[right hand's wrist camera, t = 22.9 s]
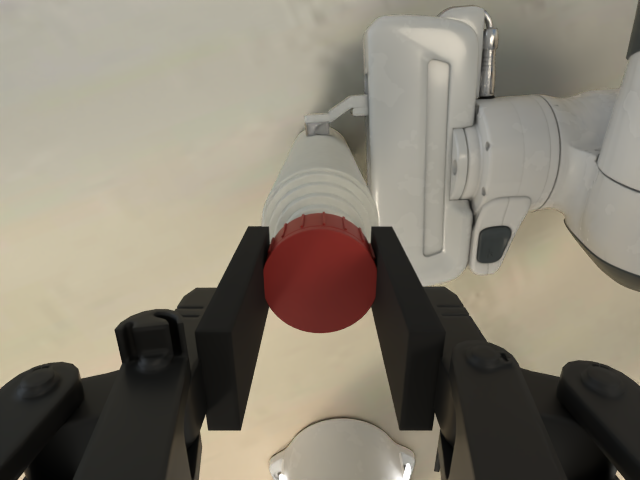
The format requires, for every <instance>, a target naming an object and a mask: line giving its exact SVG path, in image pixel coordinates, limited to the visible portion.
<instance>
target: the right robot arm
mask: <svg viewBox="0 0 640 480" xmlns="http://www.w3.org/2000/svg"><path fill="white" fill-rule="evenodd" d="M371 245H372V249H373V252H374V255H375V258H376V259H374V260H375V264H376V267H377V280H376V296H375V300H374V302H373V304H372V306H371V308H372V312H373V316H374V321H375V325H376V329H377V334H378V338H379V342H380V347H381V351H382V355H383V360H384V364H385V369H386V373H387V377H388V382H389V386H390V390H391V395H392V399H393V403H394V408H395V412H396V416H397V421H398V425H399V429H400V430H432V428H433V421H434V414H436V417H437V420H438V423H439V426H440V428H441V429H440V435H439V442H438V449H437V455H436V462H435V469H434V471H436V472H439V471H441V480H620V479H619V478H618V477H617V476H616V475H615V474H616V472H617V470H618V471H619V472H620V474H621V475H622V476H623V477H624V479H625V480H640V386H639V385H638V384H637V383H636V382H634V381H633V380H632V379H630V378H629V377H627V376H626V375H625V374H623V373H622V372H619V371H617V370H615V369H613V368H611V367H609V366H607V365H604V364H599V363H596V362H592V361H581V360H578V361H572V362H568V363H567V364H566V365H565V366H564V367H563V368H562V372H561V375H560V377H557V376H552V375H547V374H542V373H538V372H533V371H529V370H526V369H522V368H520V367H519V364H518V362H517V361H516V360H515V358H514V357H513V356H512V355H511V354H510V353H509V352H507V351H506V350H505V349H503V348H501V347H499V346H497V345H494V344H492V343H488V342H487V341H486V339H485V338H484V336H483V335H482V333H481V332H480V330H479V329H478V327H477V326H476V324H475V322H474V321H473V319H472V318H471V316H469V313H468V312H467V310H466V309H465V307H463V304H462V302H461V301H460V299H459V298H458V296H457V295H456V294H454V293H453V292H451V291H450V290H448V289H447V288H445V287H423V286H422V284H421V282H420V280H419V278H418V276H417V274H416V272H415V270H414V268H413V266H412V264H411V262H410V260H409V259H408V257H407V255H406V253H405V251H404V249H403V247H402V245H401V243H400V241H399V239H398V237H397V235H396V233H395V231H394V229H393V227H392V226H371ZM269 246H270V235H269V226H248V228H247V230H246V232H245V234H244V236H243V238H242V240H241V242H240V244H239V246H238V248H237V250H236V252H235V253H234V255H233V257H232V259H231V261H230V263H229V265H228V267H227V269H226V271H225V273H224V275H223V277H222V279H221V281H220V283H219V285H218V287H217V288H195V289H194V290H193V291H191V292H190V293H188V294H187V295H185V296H184V297H183V299H182V300H181V302H180V303H179V305H178V306H177V309H175V311H172V310H169V309H154V310H149V311H144V312H141V313H138V314H135V315H133V316H130V317H129V318H127V319H126V320H124V321H122V322H121V323H120V324H119V325H118V326H117V327H116V329H115V334H116V338H117V343H118V347H119V351H120V356H121V360H122V365H121V367H120V370H117V371H114V372H110V373H106V374H101V375H96V376H92V377H87V378H82V379H81V377H80V374H79V370H78V368H77V367H75V366H74V365H73V364H70V363H65V362H56V363H48V364H43V365H39V366H36V367H33V368H32V369H30V370H27V371H25V372H23V373H21V374H19V375H18V376H16V377H15V378H13V379H12V380H11V381H9V382H8V383H6V384H5V385H4V386H3V387H2V388H1V389H0V480H18V478H19V477H20V476H21V475H22V474H23V472H24V473H25V475H26V476H25V477H24V479H23V480H199V472H200V463H201V453H202V442H201V435H200V429H201V426H202V423H203V420H204V417H205V414H206V418H207V425H208V430H241V427H242V423H243V418H244V414H245V409H246V405H247V401H248V396H249V392H250V388H251V383H252V379H253V375H254V370H255V366H256V362H257V357H258V353H259V349H260V344H261V340H262V335H263V331H264V327H265V322H266V318H267V314H268V309H269V305H268V303H267V301H266V299H265V290H264V273H263V269H264V265H265V262H266V259H267V255H268V249H269Z"/></svg>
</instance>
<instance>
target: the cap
mask: <svg viewBox="0 0 640 480" xmlns="http://www.w3.org/2000/svg"><path fill="white" fill-rule="evenodd" d="M374 259H376V258H375V255H374V252H373V249H372V245H371V243H369V242H368V240H367V239H366V237H365V235H364V234H363V233H362V230H361V228H360V227H359V228H358V227H357V226H355V225H354V224H353V223H352V222H350V221H348V220H347V219H345V217H344V216H343V217H340V216H337V215H333V214H328V213H325V212H323V213H313V214H307V215H304V214H302V216H301V217H298V218H296V219H294V220H292V221H290V222H289V223H285V224H284V227H283V228H282V229H281V230H280V231H279V232H278V233H277V234H276V236H275V238H274V237H273V238H272V240H271V243H270V246H269V249H268V255H267V259H266V262H265V265H264V269H263V273H264V290H265V299H266V301H267V303H268V305H269V307H270V308H271V310H272V311H273V312H274V313H275V314H276V316H278V317H279V318H280V319H281V320H282V321H284V322H285V323H287V324H288V325H290V326H292V327H294V328H296V329H299V330H302V331H306V332H312V333H329V332H334V331H338V330H341V329H344V328H346V327H349V326H351V325H352V324H354V323H355V322H357V321H358V320H359V319H361V318H362V317H363V316H364V315H365V314H366V313H367V311H368V310H369V309H370V307H371V306H372V304H373V302H374V300H375V296H376V280H377V267H376V264H375V260H374Z"/></svg>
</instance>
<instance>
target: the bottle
mask: <svg viewBox="0 0 640 480" xmlns="http://www.w3.org/2000/svg"><path fill="white" fill-rule="evenodd" d="M323 212H325V213H328V214H333V215H337V216H340V217H343V216H344V217H345V219H347V220H348V221H350V222H352V223H353V224H354V225H355V226H357V227H358V228H359V227H360V228H361V230H362V233H363V234H364V235H365V237H366V239H367V240H368V242H369V243H371V226H379V217H378V211H377V208H376V204H375V202H374V200H373V198H372V195H371V193H370V191H369V189H368V187H367V185H366V183H365V181H364V178H363V176H362V174H361V172H360V170H359V168H358V166H357V164H356V161H355V159H354V157H353V155H352V153H351V151H350V149H349V147H348V144H347V142H346V140H345V139H344V137H343V136H342V135H341V134H340V133H339V132H338V131H336V130H335V129H333V128H331V127H329V135H319V134H318V133H317V134H316V135H314V136H306V132H305V130H304V131H302V132H301V133H300V134H299V135H298V136H297V137H296V139H295V141H294V143H293V145H292V147H291V149H290V151H289V153H288V155H287V158H286V160H285V162H284V164H283V166H282V168H281V170H280V172H279V175H278V177H277V179H276V181H275V183H274V185H273V187H272V189H271V192H270V194H269V196H268V198H267V200H266V203H265V205H264V209H263V213H262V226H269V235H270V243H271V240H272V238H273V237H274V238H275V236H276V234H277V233H278V232H279V231H280V230H281V229H282V228H283V227H284V224H285V223H289V222H290V221H292V220H294V219H296V218H298V217H301V216H302V214H304V215H307V214H313V213H323Z"/></svg>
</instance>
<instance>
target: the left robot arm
mask: <svg viewBox="0 0 640 480" xmlns="http://www.w3.org/2000/svg"><path fill="white" fill-rule="evenodd" d="M484 21H485V23H486V26H487V29H484ZM497 47H498V29H497V28H493V23H492V19H491V17H490V15H489V14H488V13H487V11H486V10H484V9H483V8H481V7H479V6H475V5H469V6H457V7H450V8H447V9H445V10H444V11H442V12H441V13H440V14H439V15H437V17H435V16H422V15H386V16H381V17H378V18H376V19H375V20H374V21H373V22H372V23H371V24H370V25H369V27H368V28H367V29H366V31H365V32H364V35H363V56H364V90H365V94H362V95H350V96H348V97H347V98H345V99H344V100H343V101H341V102H340V103H338V104H337V105H335V106H334V107H333V108H331V109H330V110H328V113H315V114H306V115H304V122H305V132H306V136H314V135H316V134H317V133H318V134H319V135H329V123H331V122H332V121H334V120H335V119H337V118H338V117H340V116H341V115H342V114H344V113H345V112H347V111H348V110H351V114H352V115H353V116H365V124H366V157H367V187H368V189H369V191H370V193H371V195H372V198H373V200H374V202H375V204H376V208H377V211H378V217H379V226H392V227H393V229H394V231H395V233H396V235H397V237H398V239H399V241H400V243H401V245H402V247H403V249H404V251H405V253H406V255H407V257H408V259H409V260H410V262H411V264H412V266H413V268H414V270H415V272H416V274H417V276H418V278H419V280H420V282H421V284H422V286H423V287H425V286H431V285H437V284H442V283H446V282H449V281H451V280H453V279H455V278H457V277H458V276H460V275H461V274H462V273H463V271H464V270H465V269H466V267H467V268H468V269H469V270H471V271H472V272H473V273H474V274H476V275H491V274H494V273H495V272H496V271H497V270H498V269H499V268H500V266H501V264H502V262H503V259H504V257H505V255H506V253H507V251H508V248H509V246H510V244H511V242H512V240H513V238H514V236H515V234H516V232H517V230H518V228H519V227H520V225H521V223H522V221H523V220H524V218H525V216H526V215H527V213H530V212H535V211H538V210H542V209H555V210H558V211H560V212H561V213H562V214H563V215H564V216H565V219H564V223H565V225H566V227H567V228H568V230H569V231H570V233H571V234H572V236H573V237H574V238H575V240H576V241H577V242H578V243H579V245H580V246H581V247H582V248H583V250H584V251H585V252H586V253H587V254H588V256H589V257H590V258H591V259H592V260H593V262H594V263H595V264H596V265H597V266H598V267H599V268H600V269H601V270H602V271H603V272H604V273H605V274H607V275H608V276H609V277H610V278H612V279H613V280H614V281H616V282H617V283H619V284H621V285H623V286H625V287H627V288H629V289H632V290H635V291H638V292H640V0H639V1H638V6H637V10H636V15H635V19H634V24H633V29H632V33H631V38H630V42H629V47H628V52H627V56H626V59H627V60H628V63H627V66H626V70H625V73H624V76H623V79H622V83H621V86H620V88H610V89H595V90H589V91H585V92H581V93H579V94H576V95H573V96H570V97H564V98H557V97H552V96H548V95H543V94H532V95H519V96H506V97H494V88H495V56H496V49H497ZM477 97H479V98H478V99H476V98H477ZM414 465H415V456H414V453H413V451H411V450H410V449H408V448H406V447H404V446H401V445H399V444H397V443H395V442H394V441H393V440H392V439H391V438H390V437H389V436H388V435H387V434H386V433H385V432H384V431H382V430H381V429H380V428H378V427H376V426H374V425H372V424H370V423H367V422H364V421H361V420H356V419H347V418H338V419H330V420H325V421H321V422H318V423H315V424H313V425H311V426H309V427H307V428H305V429H304V430H302V431H301V432H300V433H299V434H298V435H297V436H296V437H295V438H294V439H293V440H292V442H291V443H290V444H289V446H288V447H287V448H286V449H285V450H283V451H281V452H280V453H278V454H276V455H275V456H273V457H272V458H271V459H270V461H269V470H270V473H271V475H272V477H273V479H274V480H410V479H411V475H412V472H413V468H414Z"/></svg>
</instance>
